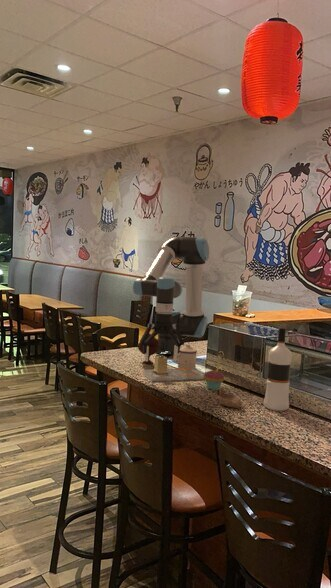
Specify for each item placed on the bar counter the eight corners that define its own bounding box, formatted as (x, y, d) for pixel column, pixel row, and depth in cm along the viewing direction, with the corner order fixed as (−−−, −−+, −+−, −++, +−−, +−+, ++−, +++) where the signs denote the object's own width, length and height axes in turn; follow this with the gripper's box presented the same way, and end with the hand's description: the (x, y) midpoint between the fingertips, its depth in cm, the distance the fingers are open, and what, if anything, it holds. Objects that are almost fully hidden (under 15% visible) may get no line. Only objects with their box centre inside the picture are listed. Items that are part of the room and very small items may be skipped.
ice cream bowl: (135, 365, 225) (136, 334, 224) (139, 360, 236) (140, 331, 235) (156, 367, 224) (158, 336, 223) (159, 361, 235) (161, 332, 234)
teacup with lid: (189, 365, 232) (191, 342, 231) (199, 369, 224) (201, 346, 223) (168, 366, 226) (170, 343, 225) (177, 371, 218) (179, 346, 217)
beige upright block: (153, 376, 208) (155, 355, 207) (163, 375, 209) (164, 355, 208) (156, 378, 203) (158, 357, 203) (166, 378, 205) (167, 357, 204)
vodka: (262, 409, 170) (268, 328, 168) (264, 402, 179) (270, 325, 177) (288, 413, 167) (294, 330, 165) (289, 405, 176) (296, 327, 174)
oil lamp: (246, 409, 169) (247, 396, 169) (230, 411, 166) (231, 398, 165) (225, 398, 181) (226, 386, 180) (209, 400, 177) (210, 387, 177)
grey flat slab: (143, 373, 210) (143, 369, 210) (194, 372, 218) (194, 367, 218) (151, 381, 199) (151, 376, 198) (204, 379, 207) (205, 374, 207)
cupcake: (219, 385, 199) (221, 357, 198) (226, 390, 191) (228, 362, 190) (200, 385, 197) (202, 357, 196) (206, 391, 189) (208, 362, 188)
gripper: (139, 313, 196) (136, 362, 198) (193, 314, 205) (190, 362, 206) (134, 311, 203) (131, 358, 205) (187, 312, 212) (183, 358, 213)
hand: (160, 360), depth 205 cm, fingers open, 13 cm apart
